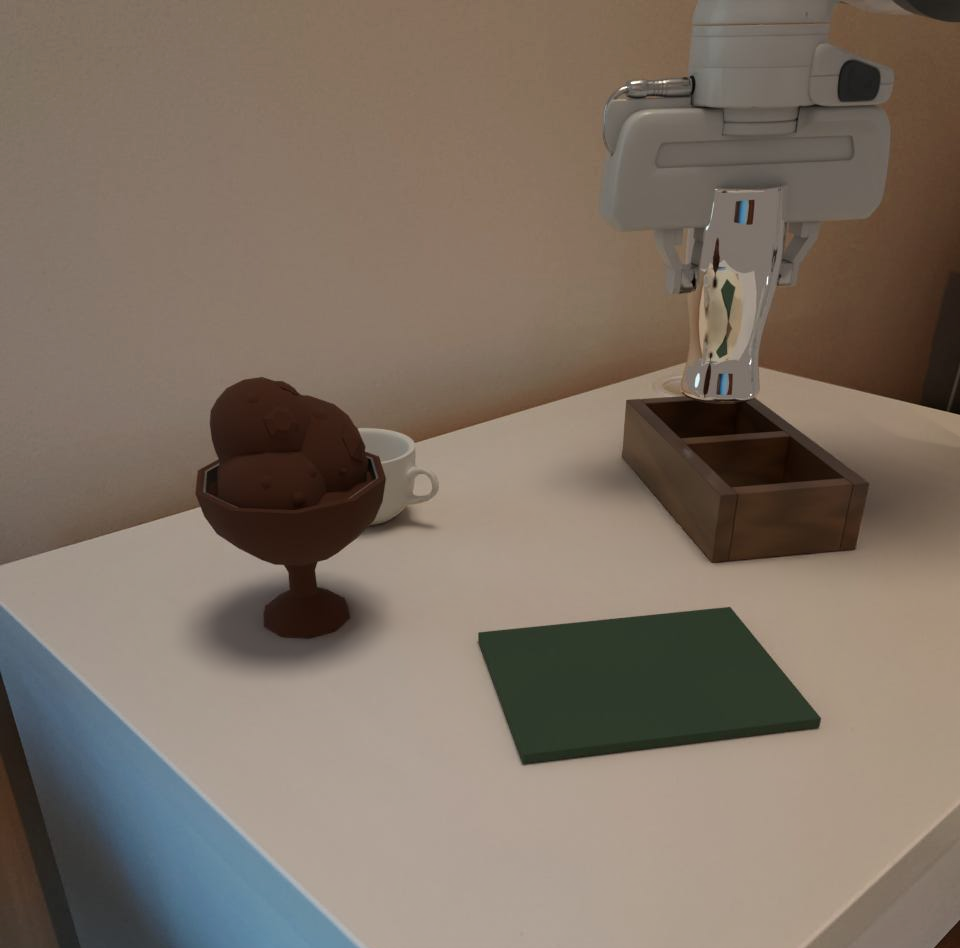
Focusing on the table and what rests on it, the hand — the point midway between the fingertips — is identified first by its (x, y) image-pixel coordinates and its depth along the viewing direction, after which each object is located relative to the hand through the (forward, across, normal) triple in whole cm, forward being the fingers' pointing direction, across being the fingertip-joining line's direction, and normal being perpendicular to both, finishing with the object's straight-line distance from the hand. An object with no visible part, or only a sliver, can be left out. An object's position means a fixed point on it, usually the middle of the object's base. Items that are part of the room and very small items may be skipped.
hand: (730, 289), depth 74 cm
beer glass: (+8, 0, 0) cm, 8 cm away
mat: (+15, -16, -28) cm, 35 cm away
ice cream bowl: (+14, -34, -17) cm, 40 cm away
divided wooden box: (+15, 0, -5) cm, 15 cm away
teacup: (+14, -28, -3) cm, 31 cm away
